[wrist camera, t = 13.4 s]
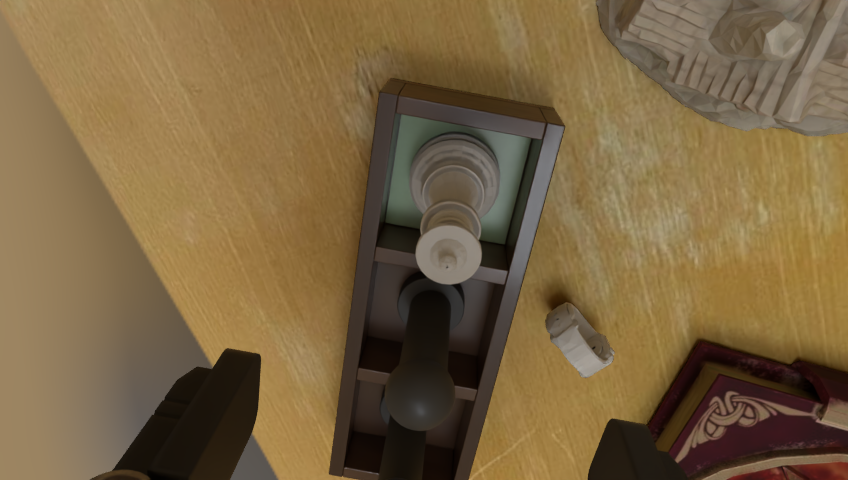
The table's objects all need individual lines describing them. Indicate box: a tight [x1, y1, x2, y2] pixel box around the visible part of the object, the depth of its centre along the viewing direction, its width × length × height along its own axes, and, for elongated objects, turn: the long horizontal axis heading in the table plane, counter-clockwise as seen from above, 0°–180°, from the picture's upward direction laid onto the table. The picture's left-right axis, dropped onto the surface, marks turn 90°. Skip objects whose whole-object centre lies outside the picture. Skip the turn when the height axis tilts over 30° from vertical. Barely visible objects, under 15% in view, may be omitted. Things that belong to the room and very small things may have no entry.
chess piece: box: [409, 132, 500, 284], centre depth 24 cm, size 4×4×10 cm
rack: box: [329, 78, 565, 480], centre depth 31 cm, size 8×22×4 cm, turn 170°
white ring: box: [545, 302, 615, 378], centre depth 31 cm, size 4×2×4 cm, turn 42°
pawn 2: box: [378, 389, 430, 480], centre depth 31 cm, size 4×4×10 cm
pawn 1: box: [385, 271, 465, 431], centre depth 28 cm, size 4×4×10 cm
